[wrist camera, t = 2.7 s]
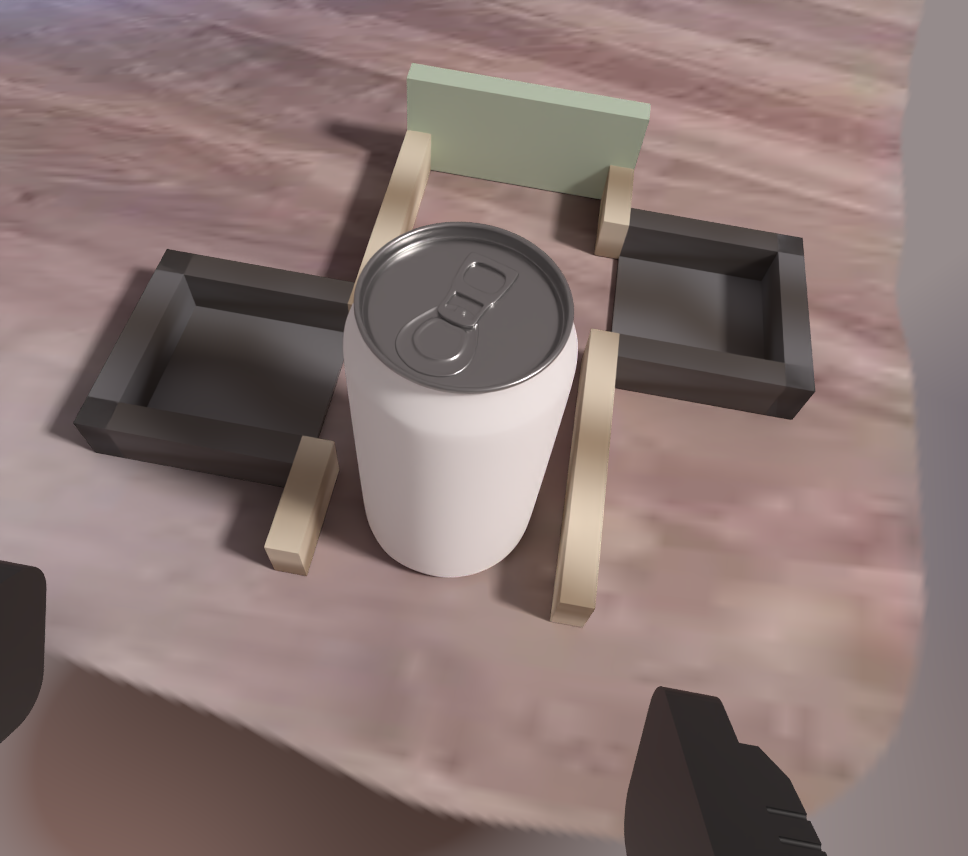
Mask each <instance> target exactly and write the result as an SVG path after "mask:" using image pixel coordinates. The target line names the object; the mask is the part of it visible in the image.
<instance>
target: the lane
mask: <svg viewBox="0 0 968 856" xmlns="http://www.w3.org/2000/svg"><path fill="white" fill-rule="evenodd" d="M430 170H431V134H429V133H423V132H418V131H412V130H407V133H406V136H405V138H404V141H403V144H402V147H401V150H400V153H399V156H398V159H397V162H396V165H395V168H394V170H393V173H392V176H391V179H390V182H389V185H388V188H387V191H386V194H385V197H384V200H383V203H382V205H381V208H380V211H379V214H378V217H377V220H376V223H375V226H374V229H373V232H372V235H371V237H370V240H369V243H368V246H367V249H366V252H365V255H364V258H363V261H362V264H361V267H360V269H359V272H358V275H357V278H356V281H355V283H354V282H349V281H343V280H338V279H332V278H326V277H321V276H315V275H309V274H304V273H298V272H293V271H287V270H281V269H276V268H270V267H265V266H259V265H253V264H248V263H242V262H237V261H231V260H225V259H220V258H214V257H209V256H203V255H197V254H192V253H186V252H180V251H175V250H169V249H167V250H166V252H165V253H164V255H163V257H162V259H161V261H160V263H159V265H158V266H157V268H156V270H155V272H154V274H153V276H152V278H151V279H150V281H149V283H148V285H147V287H146V289H145V291H144V292H143V294H142V296H141V298H140V300H139V302H138V304H137V305H136V307H135V309H134V311H133V313H132V315H131V317H130V318H129V320H128V322H127V324H126V326H125V328H124V330H123V331H122V333H121V335H120V337H119V339H118V341H117V343H116V345H115V346H114V348H113V350H112V352H111V354H110V356H109V358H108V359H107V361H106V363H105V365H104V367H103V369H102V371H101V372H100V374H99V376H98V378H97V380H96V382H95V384H94V385H93V387H92V389H91V391H90V393H89V395H88V397H87V398H86V400H85V402H84V404H83V406H82V408H81V410H80V411H79V413H78V415H77V417H76V419H75V421H74V425H75V426H76V427H77V429H78V430H79V431H80V433H81V434H82V435H83V437H84V438H85V439H86V441H87V442H88V443H89V445H90V446H91V447H92V448H93V450H94V451H95V452H96V453H101V454H107V455H112V456H118V457H123V458H129V459H134V460H139V461H145V462H150V463H156V464H161V465H167V466H172V467H177V468H183V469H188V470H194V471H199V472H204V473H210V474H215V475H221V476H226V477H232V478H237V479H242V480H248V481H253V482H259V483H264V484H270V485H275V486H280V487H285V488H284V491H283V494H282V497H281V500H280V502H279V505H278V508H277V511H276V514H275V517H274V520H273V523H272V526H271V529H270V532H269V534H268V537H267V540H266V543H265V546H264V548H265V550H266V552H267V554H268V557H269V559H270V561H271V563H272V565H273V567H274V570H277V571H283V572H288V573H293V574H299V575H304V576H307V574H308V571H309V567H310V564H311V561H312V558H313V554H314V551H315V548H316V544H317V541H318V538H319V535H320V531H321V528H322V525H323V522H324V518H325V515H326V512H327V508H328V505H329V502H330V499H331V495H332V492H333V489H334V485H335V482H336V479H337V476H338V472H339V464H338V459H337V454H336V448H335V443H334V441H330V440H324V439H319V438H318V437H319V434H320V431H321V428H322V425H323V422H324V419H325V416H326V413H327V410H328V407H329V404H330V401H331V398H332V395H333V392H334V389H335V386H336V383H337V380H338V377H339V374H340V371H341V368H342V364H343V361H344V354H343V336H344V328H345V323H346V319H347V316H348V314H349V311H350V309H351V306H352V304H353V302H354V292H355V287H356V284H357V281H358V278H359V276H360V274H361V272H362V270H363V268H364V267H365V265H366V264H367V262H368V261H369V260H370V258H371V257H372V256H373V255H374V254H375V253H376V252H377V251H378V250H379V249H380V248H381V247H383V246H384V245H385V244H386V243H388V242H389V241H391V240H392V239H394V238H396V237H398V236H399V235H401V234H403V233H406V232H408V231H411V230H412V229H413V226H414V223H415V219H416V216H417V213H418V209H419V206H420V203H421V200H422V196H423V193H424V190H425V186H426V183H427V180H428V177H429V173H430ZM633 178H634V169H631V168H625V167H619V166H613V165H610V168H609V172H608V175H607V179H606V183H605V186H604V190H603V194H602V197H601V203H600V212H599V220H598V228H597V236H596V245H595V253H594V255H598V256H604V257H609V258H615V259H618V268H617V279H616V289H615V299H614V310H613V320H612V330H611V332H608V331H603V330H597V329H591V331H590V335H589V338H588V341H587V344H586V347H585V350H584V354H583V357H582V361H581V369H580V377H579V386H578V394H577V402H576V410H575V419H574V427H573V435H572V444H571V452H570V460H569V469H568V477H567V485H566V493H565V502H564V510H563V518H562V527H561V535H560V543H559V551H558V560H557V568H556V576H555V585H554V593H553V601H552V609H551V618H550V622H556V623H561V624H566V625H572V626H577V627H582V628H583V626H584V625H585V623H586V622H587V620H588V619H589V617H590V616H591V614H592V613H593V611H594V610H595V604H596V592H597V581H598V570H599V559H600V548H601V536H602V525H603V514H604V503H605V492H606V480H607V469H608V458H609V447H610V436H611V424H612V413H613V402H614V391H615V388H620V389H625V390H631V391H636V392H642V393H647V394H653V395H658V396H664V397H670V398H675V399H681V400H686V401H692V402H697V403H703V404H708V405H714V406H720V407H725V408H731V409H736V410H742V411H747V412H753V413H758V414H764V415H770V416H775V417H781V418H786V419H793V418H794V417H795V416H796V414H797V413H798V412H799V411H800V409H801V408H802V407H803V406H804V405H805V403H806V402H807V401H808V400H809V398H810V397H811V396H812V395H813V394H814V392H815V383H814V370H813V358H812V346H811V334H810V322H809V310H808V298H807V286H806V274H805V262H804V250H803V238H800V237H794V236H788V235H783V234H777V233H771V232H765V231H760V230H754V229H748V228H743V227H737V226H731V225H725V224H720V223H714V222H708V221H702V220H697V219H691V218H685V217H680V216H674V215H668V214H662V213H657V212H651V211H645V210H640V209H634V208H631V200H632V189H633Z"/></svg>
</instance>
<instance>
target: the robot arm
mask: <svg viewBox="0 0 968 856" xmlns="http://www.w3.org/2000/svg"><path fill="white" fill-rule="evenodd" d="M45 615H46V580H45V576H44V574H43V572H42V571H41V570H40V569H39V568H37V567H33V566H28V565H22V564H17V563H12V562H7V561H1V560H0V743H1V742H2V741H3V740H5V739H6V738H7V737H8V736H9V735H10V734H11V733H12V732H13V731H14V730H15V729H16V728H17V727H18V726H19V725H20V724H21V723H22V722H23V721H24V720H25V718H26V717H27V716H28V714H29V713H30V711H31V709H32V708H33V706H34V704H35V702H36V699H37V697H38V694H39V692H40V689H41V685H42V680H43V672H44V644H45ZM806 815H807V814H806V811H805V809H804V807H803V805H802V803H801V801H800V799H799V797H798V795H797V793H796V791H795V789H794V787H793V785H792V783H791V781H790V779H789V778H788V777H787V776H786V775H785V774H784V773H783V772H782V771H781V770H780V768H779V767H778V766H777V765H776V764H775V763H774V762H773V761H772V760H771V759H770V758H769V757H768V756H767V755H766V754H765V753H764V752H763V751H762V750H761V749H760V748H759V747H758V746H752V745H747V744H742V743H739V742H738V740H737V737H736V735H735V732H734V730H733V728H732V725H731V723H730V721H729V718H728V716H727V713H726V711H725V709H724V706H723V704H722V702H721V700H720V699H719V698H718V697H715V696H709V695H704V694H699V693H693V692H688V691H683V690H677V689H672V688H667V687H662V686H659V687H658V688H657V689H656V690H655V692H654V694H653V696H652V699H651V702H650V705H649V709H648V713H647V717H646V721H645V725H644V729H643V733H642V737H641V741H640V745H639V749H638V753H637V756H636V760H635V764H634V768H633V772H632V776H631V780H630V784H629V788H628V793H627V799H626V806H625V819H624V836H625V847H626V853H627V856H827V854H826V853H825V852H822V851H821V842H820V840H819V838H818V836H817V834H816V832H815V830H814V828H813V826H812V824H811V822H810V821H807V819H806Z"/></svg>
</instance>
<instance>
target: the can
mask: <svg viewBox="0 0 968 856" xmlns="http://www.w3.org/2000/svg"><path fill="white" fill-rule="evenodd" d="M573 320H574V304H573V298H572V294H571V290H570V288H569V285H568V283H567V281H566V279H565V277H564V275H563V273H562V272H561V270H560V269H559V267H558V266H557V265H556V264H555V262H554V261H553V260H552V259H551V258H550V257H549V256H548V255H547V254H546V253H545V252H543V251H542V250H541V249H540V248H538V247H537V246H536V245H534V244H533V243H531V242H530V241H528V240H526V239H525V238H523V237H521V236H519V235H517V234H515V233H512V232H510V231H507V230H504V229H501V228H498V227H494V226H490V225H486V224H480V223H472V222H444V223H436V224H431V225H426V226H423V227H419V228H416V229H413V230H411V231H408V232H406V233H403V234H401V235H399V236H398V237H396V238H394V239H392V240H391V241H389V242H388V243H386V244H385V245H384V246H383V247H381V248H380V249H379V250H378V251H377V252H376V253H375V254H374V255H373V256H372V257H371V258H370V260H369V261H368V262H367V264H366V265H365V267H364V268H363V270H362V272H361V274H360V276H359V278H358V281H357V284H356V287H355V292H354V302H353V304H352V306H351V309H350V311H349V314H348V316H347V319H346V323H345V328H344V336H343V354H344V365H345V374H346V382H347V390H348V397H349V404H350V411H351V419H352V426H353V433H354V440H355V447H356V454H357V461H358V467H359V474H360V481H361V487H362V494H363V500H364V506H365V511H366V516H367V520H368V523H369V525H370V528H371V530H372V532H373V534H374V536H375V538H376V539H377V541H378V543H379V544H380V545H381V547H382V548H383V549H384V551H385V552H386V553H387V554H388V555H389V556H391V557H392V558H393V559H394V560H396V561H397V562H399V563H401V564H402V565H404V566H406V567H408V568H410V569H413V570H415V571H418V572H421V573H425V574H428V575H432V576H438V577H462V576H467V575H472V574H475V573H478V572H481V571H484V570H486V569H488V568H490V567H492V566H494V565H495V564H497V563H498V562H500V561H501V560H502V559H504V558H505V557H506V556H507V555H508V554H509V553H510V552H511V551H512V550H513V549H514V548H515V547H516V545H517V544H518V543H519V541H520V540H521V538H522V536H523V534H524V532H525V530H526V528H527V525H528V523H529V520H530V517H531V514H532V511H533V508H534V505H535V502H536V499H537V496H538V493H539V490H540V487H541V483H542V480H543V477H544V474H545V471H546V468H547V464H548V461H549V458H550V455H551V452H552V448H553V445H554V442H555V439H556V436H557V432H558V429H559V426H560V423H561V419H562V416H563V413H564V410H565V406H566V403H567V400H568V396H569V393H570V390H571V386H572V382H573V378H574V374H575V370H576V364H577V357H578V341H577V334H576V330H575V326H574V322H573Z"/></svg>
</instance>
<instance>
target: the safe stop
mask: <svg viewBox="0 0 968 856" xmlns="http://www.w3.org/2000/svg"><path fill="white" fill-rule="evenodd" d="M649 117H650V104H648V103H642V102H636V101H630V100H624V99H619V98H613V97H607V96H601V95H595V94H589V93H584V92H578V91H572V90H566V89H560V88H555V87H549V86H543V85H537V84H531V83H525V82H520V81H514V80H508V79H502V78H496V77H490V76H485V75H479V74H473V73H467V72H461V71H456V70H450V69H444V68H438V67H432V66H426V65H421V64H415V63H412V65H411V68H410V71H409V73H408V76H407V130H412V131H418V132H423V133H429V134H431V170H435V171H440V172H446V173H452V174H458V175H463V176H469V177H475V178H480V179H486V180H492V181H498V182H503V183H509V184H515V185H521V186H526V187H532V188H538V189H543V190H549V191H555V192H561V193H566V194H572V195H578V196H583V197H589V198H595V199H601V197H602V194H603V190H604V186H605V183H606V179H607V175H608V172H609V168H610V165H613V166H619V167H625V168H631V169H634V168H635V165H636V162H637V159H638V155H639V152H640V149H641V145H642V142H643V139H644V136H645V132H646V129H647V126H648V123H649Z"/></svg>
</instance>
